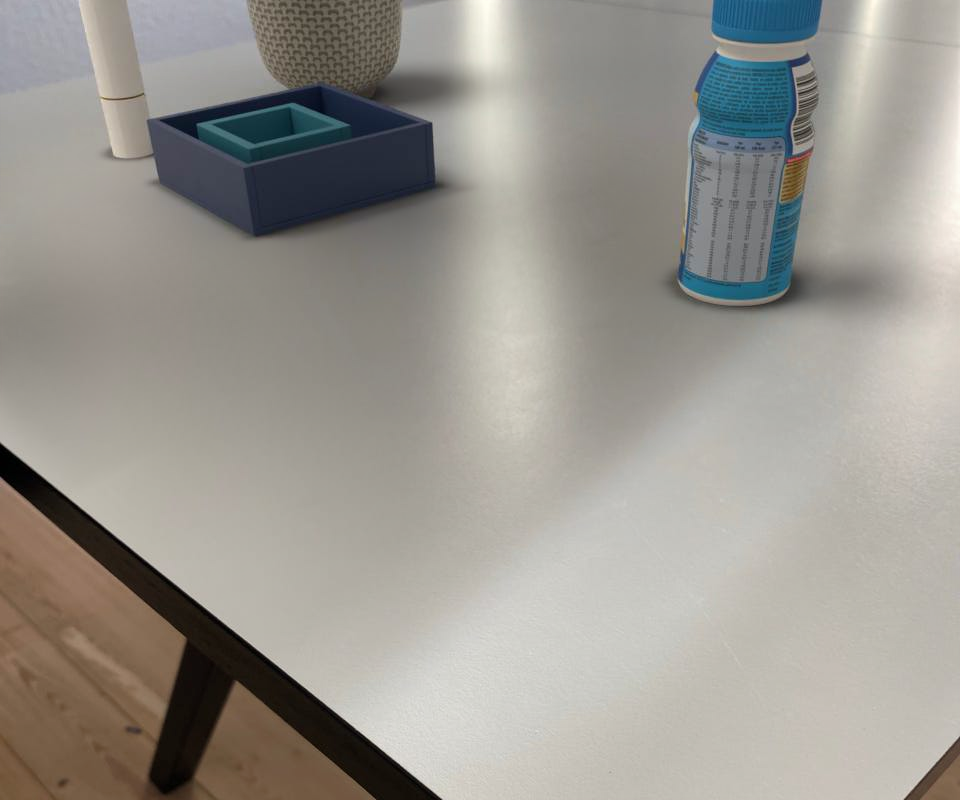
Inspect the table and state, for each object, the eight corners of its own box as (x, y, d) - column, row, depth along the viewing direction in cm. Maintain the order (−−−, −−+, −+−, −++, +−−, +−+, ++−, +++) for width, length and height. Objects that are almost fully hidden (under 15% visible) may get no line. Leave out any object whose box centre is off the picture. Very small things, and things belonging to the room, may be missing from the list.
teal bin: (258, 209, 97) (249, 148, 93) (206, 181, 103) (195, 123, 100) (356, 183, 101) (350, 125, 98) (300, 158, 107) (293, 102, 104)
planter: (298, 129, 118) (276, -48, 107) (234, 94, 129) (209, -68, 119) (439, 101, 124) (431, -68, 114) (367, 70, 136) (353, -86, 125)
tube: (148, 161, 111) (112, -12, 101) (107, 160, 111) (67, -12, 101) (163, 147, 114) (129, -21, 104) (123, 147, 114) (85, -21, 105)
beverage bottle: (696, 316, 79) (729, -4, 66) (660, 271, 86) (684, -29, 73) (809, 304, 80) (863, -14, 67) (765, 261, 87) (806, -37, 74)
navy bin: (254, 240, 93) (243, 168, 89) (159, 185, 105) (146, 119, 101) (436, 190, 102) (432, 122, 98) (329, 144, 113) (322, 82, 109)
